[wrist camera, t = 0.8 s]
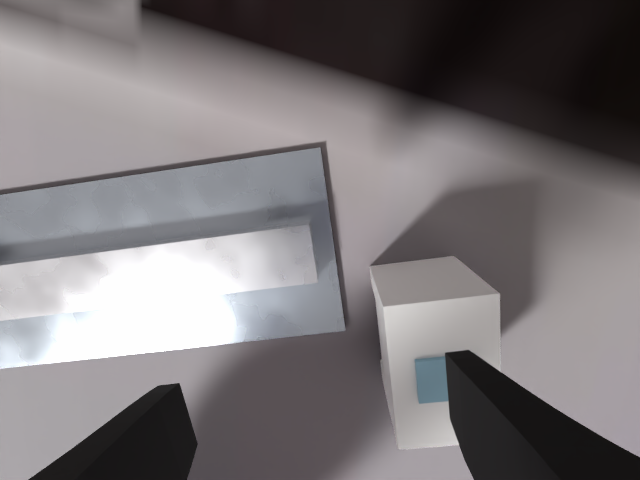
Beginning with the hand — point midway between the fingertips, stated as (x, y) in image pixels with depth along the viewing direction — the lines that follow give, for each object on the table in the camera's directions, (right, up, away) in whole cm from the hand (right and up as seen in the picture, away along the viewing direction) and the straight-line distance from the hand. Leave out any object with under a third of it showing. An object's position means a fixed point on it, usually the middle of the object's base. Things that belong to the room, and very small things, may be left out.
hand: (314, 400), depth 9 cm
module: (+6, 0, +10) cm, 11 cm away
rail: (-12, +2, +10) cm, 16 cm away
